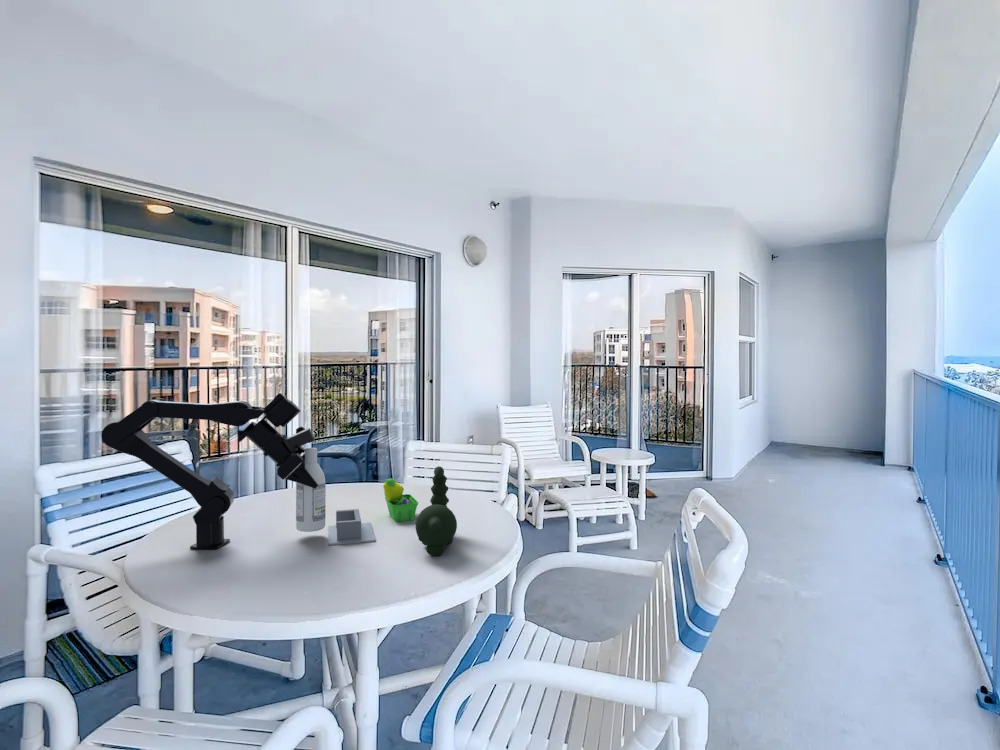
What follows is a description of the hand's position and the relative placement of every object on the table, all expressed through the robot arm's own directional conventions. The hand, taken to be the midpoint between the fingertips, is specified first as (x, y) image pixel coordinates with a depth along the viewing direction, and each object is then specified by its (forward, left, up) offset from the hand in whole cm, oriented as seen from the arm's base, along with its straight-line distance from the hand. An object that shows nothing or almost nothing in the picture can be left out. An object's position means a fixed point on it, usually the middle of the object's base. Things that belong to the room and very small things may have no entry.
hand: (316, 483), depth 144 cm
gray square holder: (+3, -8, -13) cm, 16 cm away
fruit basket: (+20, -16, -14) cm, 29 cm away
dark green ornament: (-5, -31, -14) cm, 34 cm away
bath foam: (0, +1, -11) cm, 11 cm away
